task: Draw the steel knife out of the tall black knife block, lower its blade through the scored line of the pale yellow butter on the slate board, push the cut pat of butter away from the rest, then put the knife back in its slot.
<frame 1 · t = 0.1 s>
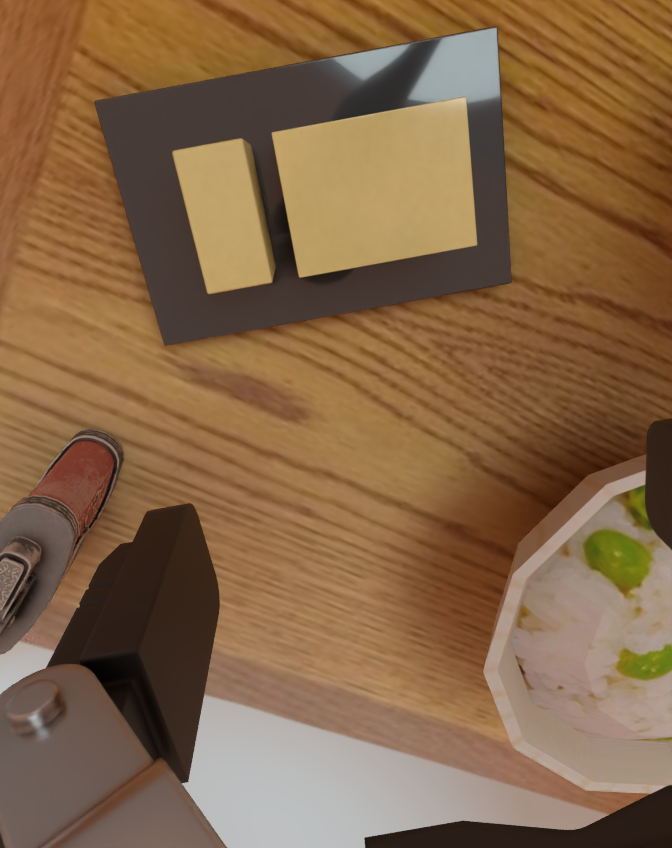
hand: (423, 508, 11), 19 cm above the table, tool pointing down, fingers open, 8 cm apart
butter pat: (229, 216, 23), point 3 cm above the table, slide at 0.0 cm
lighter: (74, 492, 31), on the table
butter board: (317, 197, 26), on the table
bowl: (605, 527, 34), on the table
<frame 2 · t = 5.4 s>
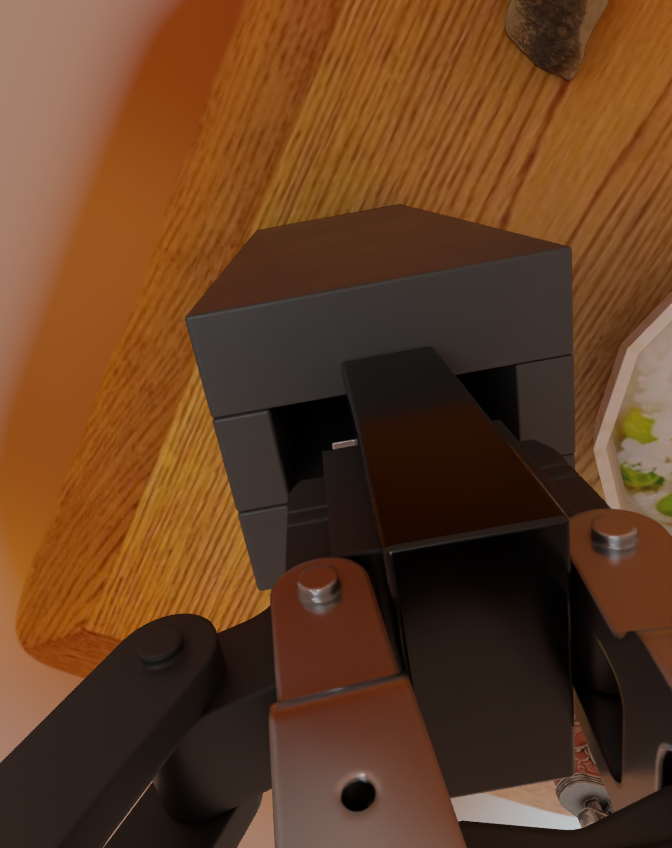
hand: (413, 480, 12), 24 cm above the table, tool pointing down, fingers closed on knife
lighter: (563, 717, 48), on the table
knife: (398, 437, 13), point 22 cm above the table, touching gripper
knife block: (339, 281, 34), on the table
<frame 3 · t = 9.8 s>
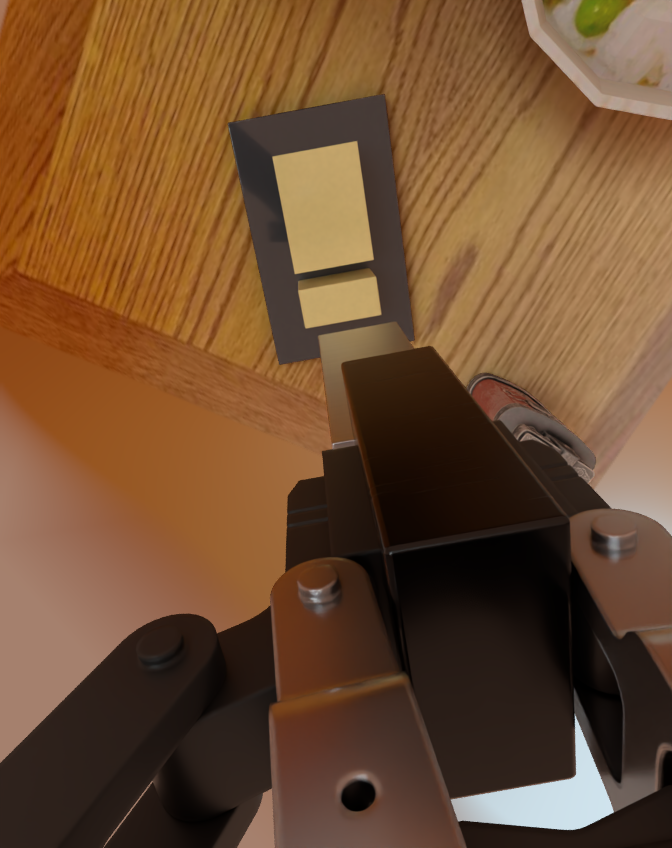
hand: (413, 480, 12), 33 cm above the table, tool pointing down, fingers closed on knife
butter pat: (338, 297, 40), point 3 cm above the table, slide at 0.0 cm
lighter: (509, 405, 47), on the table
butter board: (327, 238, 42), on the table
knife: (398, 437, 13), point 31 cm above the table, touching gripper
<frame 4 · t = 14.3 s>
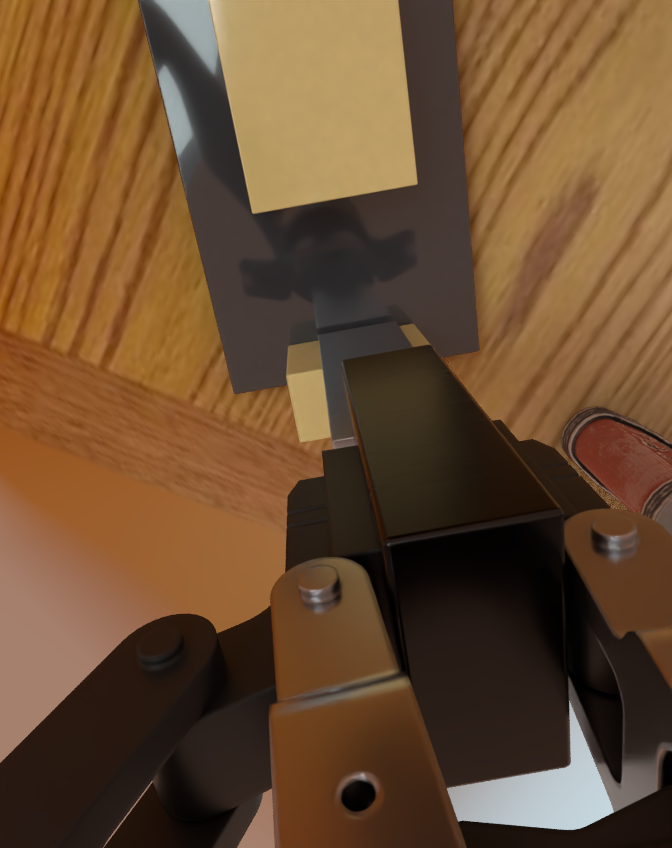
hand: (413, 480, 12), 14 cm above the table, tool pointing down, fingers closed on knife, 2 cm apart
butter pat: (360, 379, 22), point 3 cm above the table, slide at 4.1 cm, touching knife
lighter: (631, 461, 28), on the table
butter board: (321, 159, 22), on the table
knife: (397, 435, 14), point 12 cm above the table, touching butter pat, gripper
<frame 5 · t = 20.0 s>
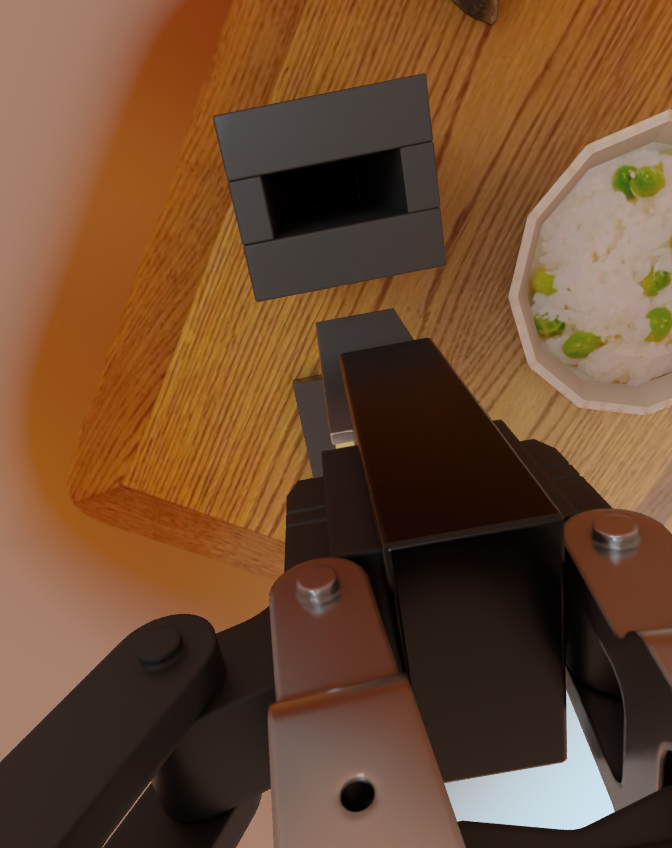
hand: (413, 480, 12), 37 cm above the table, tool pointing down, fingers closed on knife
butter board: (368, 455, 52), on the table
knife: (396, 428, 14), point 35 cm above the table, touching gripper
knife block: (320, 187, 44), on the table
bowl: (593, 259, 47), on the table
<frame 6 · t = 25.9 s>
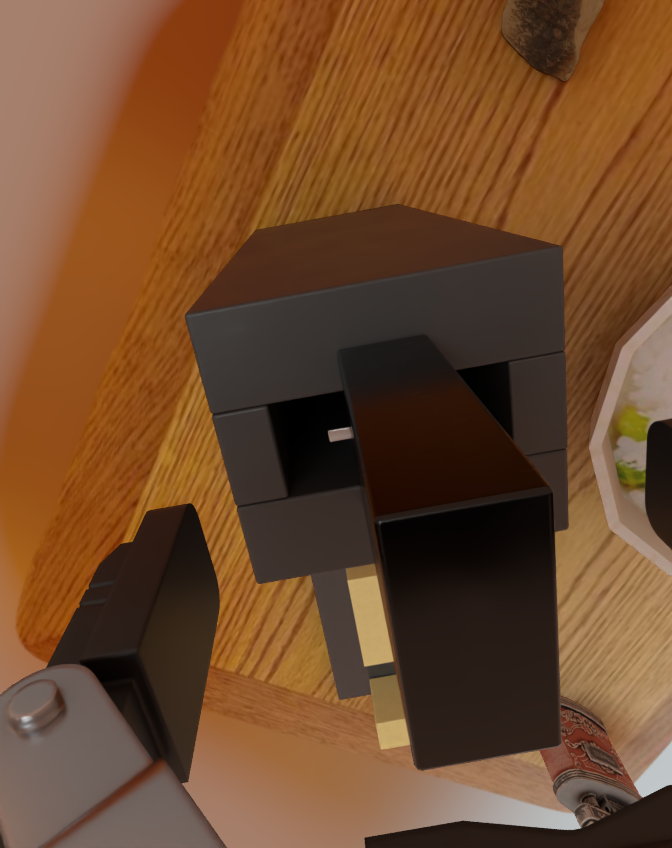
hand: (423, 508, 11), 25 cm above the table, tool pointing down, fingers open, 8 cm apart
butter pat: (409, 707, 42), point 3 cm above the table, slide at 4.1 cm
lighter: (560, 714, 48), on the table
butter board: (388, 591, 42), on the table
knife: (393, 425, 14), point 22 cm above the table, touching knife block
knife block: (337, 281, 34), on the table
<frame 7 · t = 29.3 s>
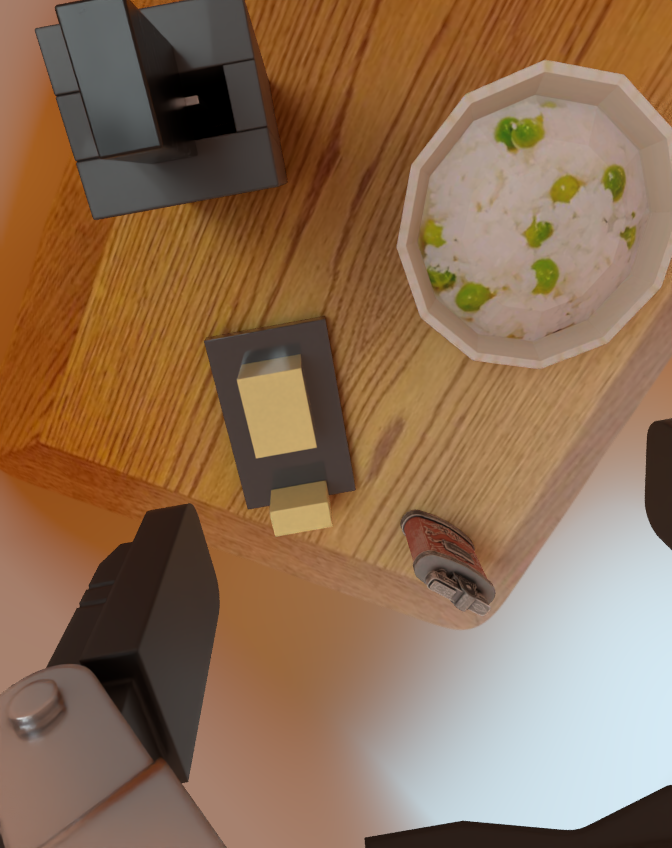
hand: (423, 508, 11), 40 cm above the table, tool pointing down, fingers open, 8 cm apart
butter pat: (301, 507, 53), point 3 cm above the table, slide at 4.1 cm
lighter: (436, 533, 58), on the table
butter board: (284, 415, 53), on the table
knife: (161, 106, 24), point 22 cm above the table, touching knife block
knife block: (225, 142, 44), on the table
bowl: (499, 220, 48), on the table
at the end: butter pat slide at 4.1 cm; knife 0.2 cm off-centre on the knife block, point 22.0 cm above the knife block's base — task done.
